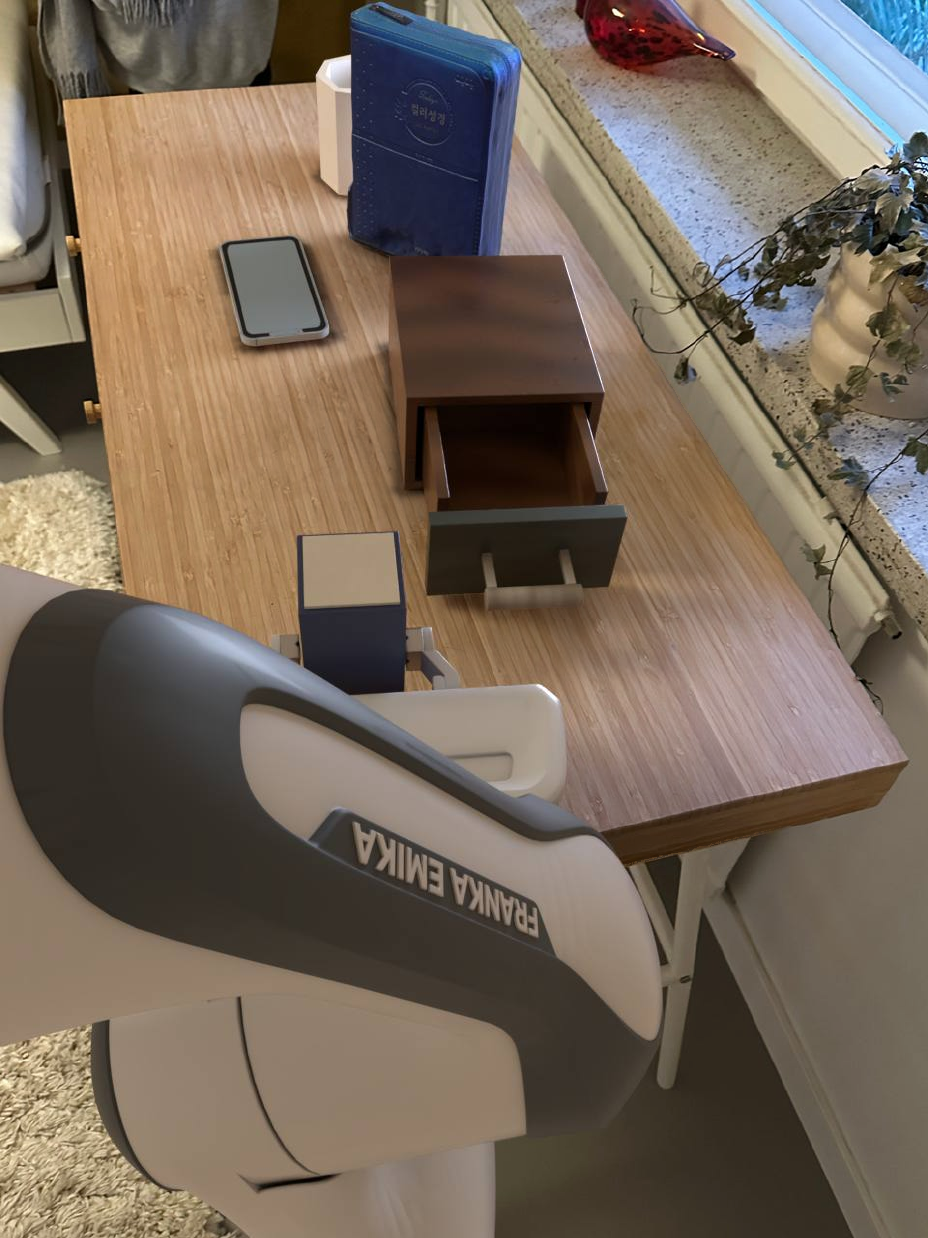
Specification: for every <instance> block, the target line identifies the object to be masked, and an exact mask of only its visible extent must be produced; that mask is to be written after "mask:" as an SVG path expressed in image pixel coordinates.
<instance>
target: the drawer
mask: <svg viewBox="0 0 928 1238" xmlns="http://www.w3.org/2000/svg"><path fill="white" fill-rule="evenodd" d="M417 439H418V447H419V455H420V463H421V471H422V479H423V486H424V489H423V494H424V502H425V509H426V510H425V511H426V516H427V517H426V518H427V531H426V532H427V533H426V550H425V570H424V572H425V573H424V588H425V595H426V596H427V597H433V596H434V597H436V596H456V595H457V596H458V595H477V594H483V600H484V601H483V602H484V608H485V609H484V610H485V611H487V612H497V611H511V610H512V611H514V610H515V611H516V610H517V611H518V610H534V609H551V608H553V609H556V608H573V607H574V608H576V607H582V606H583V604H584V600H585V599H584V598H585V595H584V589H600V588H601V589H602V588H609V587H610V584H611V580H612V576H613V572H614V568H615V566H616V562H617V558H618V554H619V551H620V547H621V543H622V540H623V536H624V533H625V529H626V526H627V521H628V515H627V510H626V507H625V505H624V504H606V502H607V498H608V494H609V490H608V487H607V483H606V479H605V476H604V473H603V469H602V466H601V461H600V459H599V455H598V451H597V448H596V443H595V441H594V440H593V437H592V433H591V430H590V426H589V423H588V419H587V415H586V412H585V408H584V405H583V402H563V403H525V404H487V405H448V406H418V417H417Z"/></svg>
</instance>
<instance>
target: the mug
mask: <svg viewBox="0 0 928 1238" xmlns="http://www.w3.org/2000/svg"><path fill="white" fill-rule="evenodd" d="M315 83H316V85H315V86H316V87H315V88H316V101H317V102H316V104H317V105H316V106H317V127H318V147H319V150H318V151H319V167H320V168H319V169H320V179H321V180H322V181H323V182H324V183H325V184H326V185H328V186H329V188H330V189H332V190H333V191H334V192H335V193H336V194H337V195H339V196H345V197H348V189H349V186H350V185H351V183H352V181H353V165H352V146H351V134H352V109H351V54H347V55H343V56H338V57H334V58H329V59H324V60H323V62H322V64H321V66H320V67H319V69H318V71H317V73H316V74H315Z"/></svg>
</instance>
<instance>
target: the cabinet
mask: <svg viewBox="0 0 928 1238" xmlns="http://www.w3.org/2000/svg"><path fill="white" fill-rule="evenodd" d="M583 319H584V318H583V316H582V313H581V310H580V306H579V304H578V300H577V296H576V293H575V290H574V287H573V284H572V280H571V277H570V273H569V271H568V267H567V264H566V260H565V257H564V255H563V254H519V255H517V254H516V255H513V254H512V255H511V254H510V255H507V254H506V255H503V254H502V255H501V254H499V255H497V256H388V347H387V348H388V357H389V365H390V374H391V383H392V384H391V385H392V393H393V402H394V411H395V420H396V428H397V429H396V430H397V439H398V449H399V455H400V456H399V457H400V464H401V466H400V467H401V474H402V483H403V490H405V491H406V490H407V491H408V490H409V491H410V490H424V486H423V479H422V471H421V463H420V455H419V447H418V439H417V417H418V406H448V405H487V404H525V403H563V402H583V405H584V408H585V412H586V415H587V419H588V423H589V426H590V430H591V433H592V437H593V440H594V442H595V441H596V435H597V431H598V427H599V423H600V422H599V421H600V416H601V413H602V407H603V404H604V399H605V395H606V391H605V389H604V388H605V387H604V385H603V382H602V379H601V375H600V372H599V369H598V366H597V362H596V358H595V355H594V352H593V349H592V346H591V343H590V339H589V336H588V332H587V329H586V325H585V323H584V320H583Z"/></svg>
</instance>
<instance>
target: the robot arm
mask: <svg viewBox="0 0 928 1238" xmlns="http://www.w3.org/2000/svg"><path fill="white" fill-rule="evenodd" d="M433 634H434V633H433V628H432V626H423V627H422V626H418V627H406V655H405V672H421V673H422V674H423V675H424V677H425V678H426V679H427V681H428V682H429V683H430V685H431V689H430V690H415V691H404V692H395V693H378V694H361V695H348V694H346V693H345V692H343V691H341V690H340V689H338V688H337V687H335V686H333V685H332V684H330V683H329V682H327V681H325V680H324V679H322V678H320V677H319V676H317V675H316V674H314V673H312V672H311V671H309V670H307V669H306V668H304V666H302V663H301V661H302V650H301V642H300V633H292V634H291V633H290V634H289V633H288V634H271V635H270V639H269V640H270V641H269V645H270V647H269V646H268V645H266V644H264V643H262V642H260V641H259V640H257V639H255V638H253V637H251V636H249V635H247V634H245V633H243V632H241V631H239V630H237V629H235V628H233V627H232V626H229V625H226V624H225V623H222V622H220V621H218V620H216V619H214V618H211V617H208V616H206V615H202V614H200V613H197V612H194V611H192V610H188V609H185V608H181V607H178V606H173V605H168V604H166V603H161V602H158V601H153V600H150V599H145V598H142V597H137V596H134V595H129V594H126V593H123V592H119V591H114V590H110V589H101V588H88V587H85V586H82V585H79V584H75V583H72V582H69V581H66V580H62V579H58V578H55V577H51V576H49V575H44V574H40V573H37V572H33V571H30V570H27V569H23V568H20V567H17V566H13V565H10V564H6V563H3V562H0V1048H3V1047H7V1046H10V1045H14V1044H18V1043H21V1042H22V1043H23V1042H26V1041H28V1040H29V1041H30V1040H33V1039H36V1038H40V1037H44V1036H48V1035H49V1036H50V1035H53V1034H56V1033H60V1032H64V1031H67V1030H72V1029H75V1028H76V1029H77V1028H79V1027H83V1026H88V1025H91V1028H90V1029H91V1033H90V1046H89V1047H90V1048H89V1051H90V1052H89V1055H90V1057H89V1058H90V1059H89V1060H90V1079H91V1086H92V1092H93V1093H92V1094H93V1097H94V1098H93V1099H94V1103H95V1106H96V1109H97V1111H98V1115H99V1117H100V1120H101V1123H102V1125H103V1126H104V1128H105V1131H106V1133H107V1135H108V1136H109V1138H110V1140H111V1141H112V1144H114V1146H115V1148H116V1149H117V1150H118V1151H119V1153H120V1154H121V1155H122V1157H123V1158H124V1159H125V1160H126V1161H127V1162H128V1163H129V1164H130V1165H131V1166H132V1168H134V1169H135V1170H136V1171H137V1172H138V1173H139V1174H141V1176H143V1177H144V1178H145V1179H146V1180H148V1181H149V1182H151V1183H152V1184H153V1185H154V1186H156V1187H158V1188H159V1189H161V1190H164V1191H166V1192H167V1191H168V1192H174V1193H175V1192H176V1193H177V1192H179V1193H180V1192H186V1193H189V1194H191V1195H192V1196H194V1197H195V1198H197V1199H199V1200H200V1201H202V1202H204V1203H205V1204H207V1205H208V1206H210V1207H211V1208H213V1209H214V1210H216V1211H217V1212H219V1213H220V1214H221V1215H223V1216H224V1217H225V1218H226V1219H228V1220H229V1221H230V1222H232V1223H233V1224H234V1225H235V1226H237V1227H238V1228H239V1229H240V1230H241V1231H242V1232H244V1234H245V1235H246V1236H248V1237H249V1238H495V1230H496V1208H497V1207H496V1202H497V1201H496V1200H497V1198H496V1195H497V1191H496V1187H497V1185H496V1184H497V1183H496V1181H497V1179H496V1147H495V1146H496V1145H495V1142H500V1141H506V1140H509V1139H515V1138H520V1137H526V1138H527V1140H532V1139H540V1138H550V1137H557V1136H564V1135H565V1136H567V1135H572V1134H581V1133H589V1132H596V1131H597V1132H598V1131H605V1130H606V1129H607V1128H608V1127H609V1126H610V1125H611V1124H612V1122H613V1121H614V1120H615V1119H616V1117H617V1116H618V1115H619V1113H620V1112H621V1111H622V1109H623V1108H624V1107H625V1105H626V1104H627V1102H628V1101H629V1099H630V1098H631V1096H632V1095H633V1093H634V1092H635V1090H636V1089H637V1088H638V1086H639V1084H640V1083H641V1081H642V1080H643V1078H644V1076H645V1074H646V1072H647V1071H648V1069H649V1067H650V1065H651V1063H652V1061H653V1059H654V1057H655V1055H656V1053H657V1052H658V1049H659V1047H660V1045H661V1042H662V1040H663V1034H664V1029H665V1028H664V1027H665V1011H664V1010H665V1008H664V999H663V997H664V995H663V991H664V990H663V978H662V969H661V963H660V962H661V961H660V957H659V952H658V951H659V950H658V947H657V942H656V938H655V935H654V931H653V927H652V925H651V922H650V919H649V916H648V913H647V910H646V908H645V905H644V904H645V903H644V902H643V900H642V897H641V895H640V893H639V891H638V888H637V887H636V884H635V883H634V881H633V879H632V877H631V876H630V874H629V873H628V871H627V869H626V868H625V866H624V865H623V863H622V861H621V860H620V858H619V856H618V855H617V853H616V850H615V849H614V848H613V846H612V845H611V844H610V842H609V841H608V840H607V838H606V837H605V836H604V835H603V834H602V833H601V832H600V831H598V830H597V829H596V828H594V827H593V826H592V825H591V824H589V823H588V822H586V821H585V820H583V819H582V818H580V817H579V816H578V815H575V814H574V813H572V812H570V811H569V810H567V809H565V808H563V807H561V806H560V805H561V801H562V798H563V794H564V790H565V786H566V782H567V774H568V758H567V757H568V753H567V752H568V751H567V750H568V749H567V737H566V728H565V720H564V715H563V709H562V705H561V701H560V699H559V697H557V696H556V695H555V694H554V693H553V692H552V691H550V689H548V688H547V687H546V686H544V685H542V684H539V683H528V684H513V685H497V686H495V685H494V686H481V687H479V686H478V687H466V688H465V687H464V688H462V686H461V685H462V684H461V678H460V677H461V676H460V673H459V672H458V671H457V670H456V669H455V668H454V667H453V666H452V665H451V663H449V661H448V660H446V658H445V657H444V656H443V655H442V654H441V653H440V652H439V651H438V650H437V649H436V650H435V643H434V636H433Z"/></svg>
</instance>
